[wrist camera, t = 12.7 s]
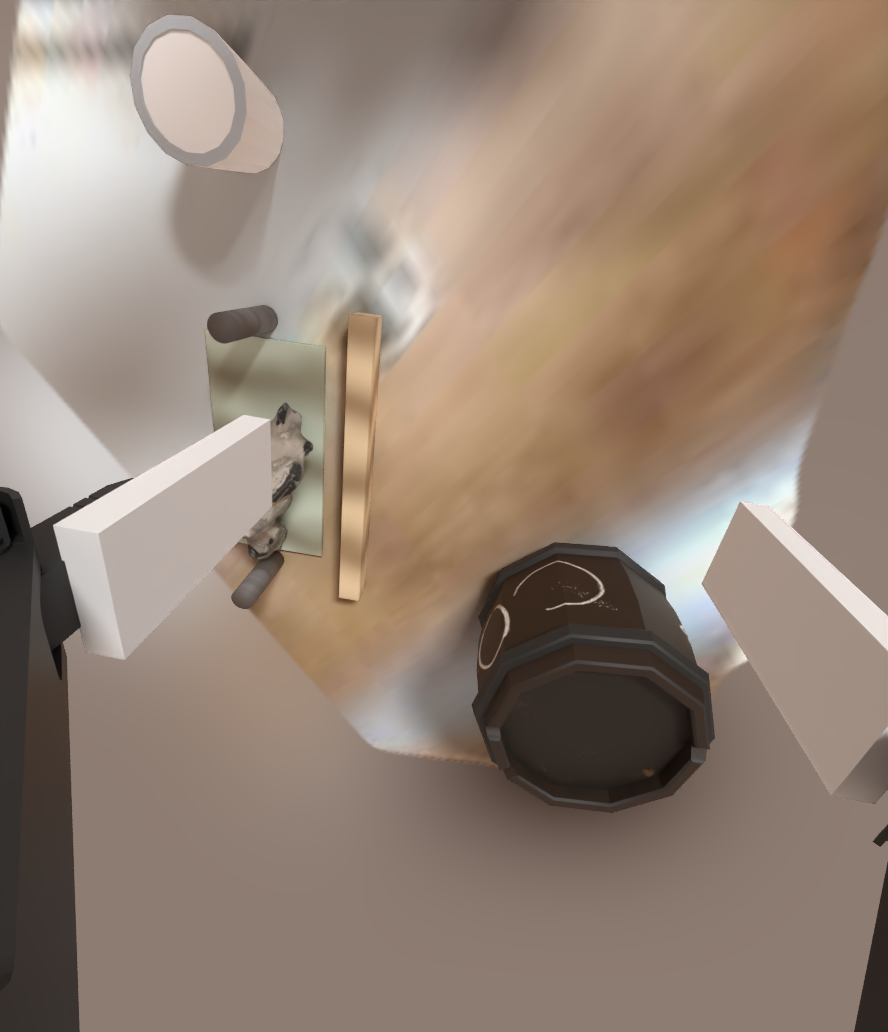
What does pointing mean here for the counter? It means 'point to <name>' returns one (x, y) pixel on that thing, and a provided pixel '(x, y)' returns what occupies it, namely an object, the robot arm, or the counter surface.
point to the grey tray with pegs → (301, 384)
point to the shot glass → (203, 98)
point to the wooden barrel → (589, 681)
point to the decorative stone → (280, 480)
